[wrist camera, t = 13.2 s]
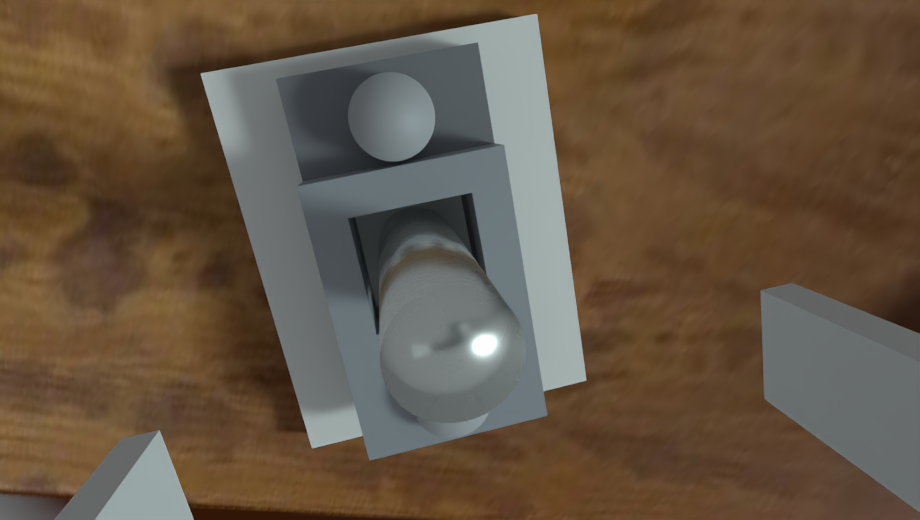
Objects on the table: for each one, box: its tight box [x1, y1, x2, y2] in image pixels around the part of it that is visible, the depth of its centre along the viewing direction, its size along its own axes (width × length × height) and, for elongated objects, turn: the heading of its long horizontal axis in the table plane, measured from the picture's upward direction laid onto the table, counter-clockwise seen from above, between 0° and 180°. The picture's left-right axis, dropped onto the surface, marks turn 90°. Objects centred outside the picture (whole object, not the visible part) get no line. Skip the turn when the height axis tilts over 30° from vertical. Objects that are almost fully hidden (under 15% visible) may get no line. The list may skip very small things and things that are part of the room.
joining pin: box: [378, 207, 526, 423], centre depth 21 cm, size 4×4×14 cm
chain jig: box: [200, 14, 586, 460], centre depth 26 cm, size 20×16×6 cm
